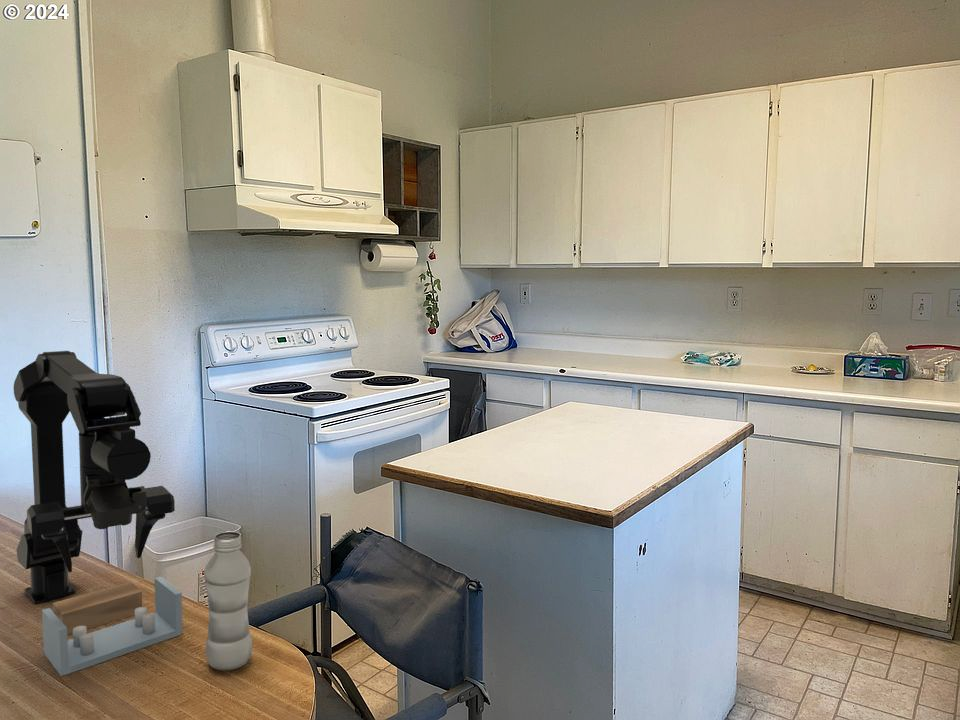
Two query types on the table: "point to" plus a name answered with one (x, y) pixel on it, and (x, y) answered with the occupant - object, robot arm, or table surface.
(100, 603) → the shelf block
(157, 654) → the table surface
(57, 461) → the robot arm
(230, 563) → the plastic bottle
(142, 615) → the peg rack
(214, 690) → the table surface
